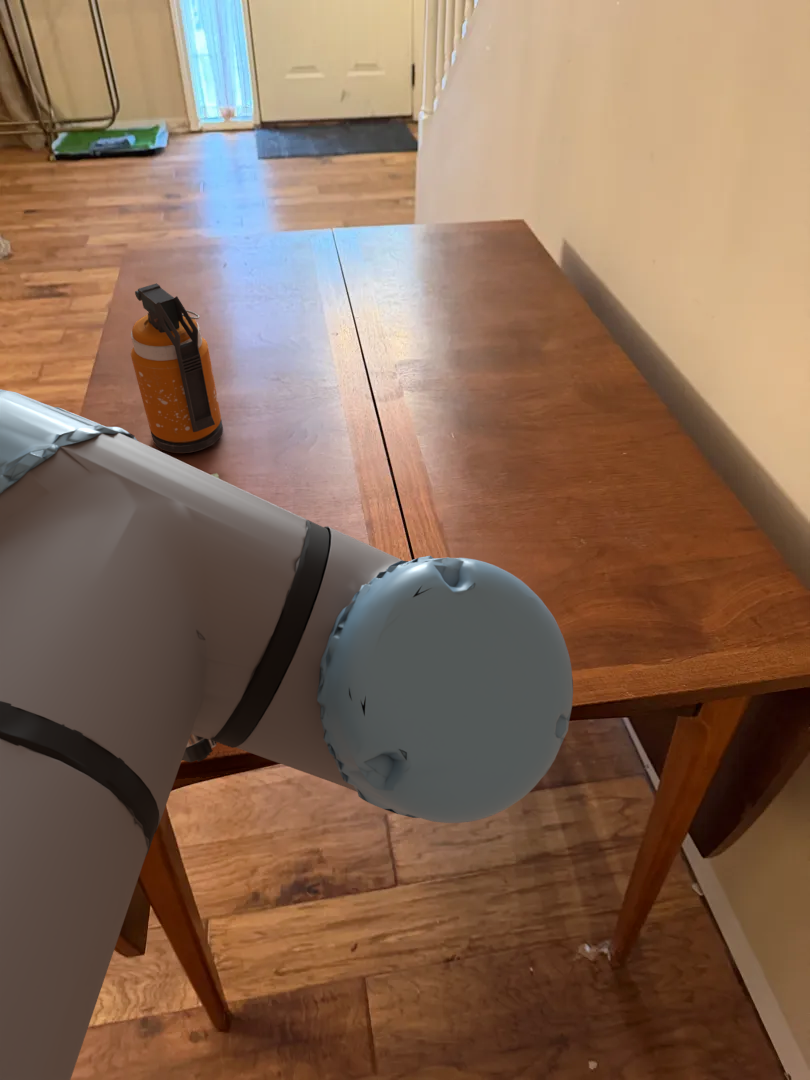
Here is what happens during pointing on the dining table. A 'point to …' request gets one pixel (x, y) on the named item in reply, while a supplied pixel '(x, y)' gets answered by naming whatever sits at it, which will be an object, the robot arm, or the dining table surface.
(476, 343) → the dining table surface
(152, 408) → the canister
